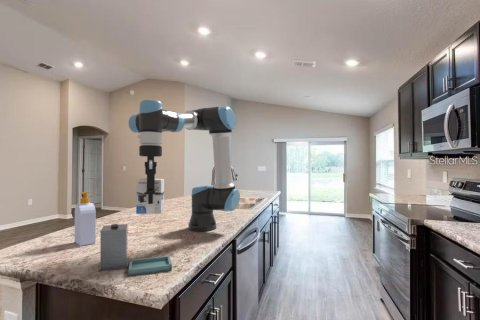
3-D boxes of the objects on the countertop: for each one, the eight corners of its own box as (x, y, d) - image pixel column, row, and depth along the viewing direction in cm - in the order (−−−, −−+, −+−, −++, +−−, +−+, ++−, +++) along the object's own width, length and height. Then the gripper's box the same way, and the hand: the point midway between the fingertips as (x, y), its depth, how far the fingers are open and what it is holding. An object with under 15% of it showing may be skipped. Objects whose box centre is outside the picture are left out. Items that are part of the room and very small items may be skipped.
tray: (169, 260, 102) (169, 255, 102) (171, 270, 93) (171, 265, 93) (130, 265, 97) (130, 260, 97) (128, 275, 88) (128, 270, 88)
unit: (128, 258, 104) (128, 221, 104) (127, 267, 95) (127, 226, 95) (102, 261, 101) (102, 222, 101) (98, 271, 92) (98, 228, 92)
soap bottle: (97, 243, 123) (97, 192, 123) (80, 246, 119) (80, 193, 118) (91, 239, 130) (91, 190, 130) (74, 242, 125) (74, 191, 125)
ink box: (135, 214, 93) (135, 179, 93) (139, 211, 98) (140, 178, 98) (161, 213, 93) (161, 179, 94) (164, 211, 98) (164, 178, 98)
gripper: (140, 146, 104) (139, 207, 103) (138, 143, 86) (137, 217, 85) (160, 146, 106) (160, 206, 106) (163, 143, 88) (162, 216, 88)
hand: (150, 211), depth 96 cm, fingers closed on ink box, 6 cm apart
